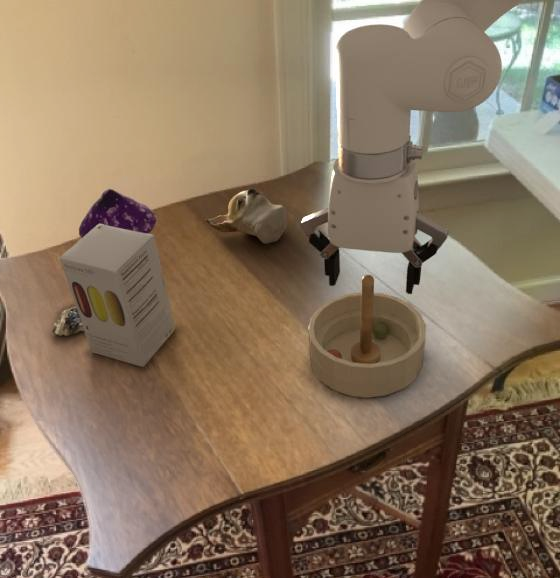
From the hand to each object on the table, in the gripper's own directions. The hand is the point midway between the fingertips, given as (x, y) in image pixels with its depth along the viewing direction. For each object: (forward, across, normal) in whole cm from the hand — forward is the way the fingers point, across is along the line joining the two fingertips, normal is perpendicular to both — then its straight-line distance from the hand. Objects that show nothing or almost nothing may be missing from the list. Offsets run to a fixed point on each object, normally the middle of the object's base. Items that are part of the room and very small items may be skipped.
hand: (372, 283), depth 83 cm
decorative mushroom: (+12, +44, -13) cm, 47 cm away
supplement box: (+13, +35, +4) cm, 37 cm away
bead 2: (+11, 0, -4) cm, 12 cm away
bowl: (+13, +1, 0) cm, 13 cm away
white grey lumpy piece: (+12, +46, +2) cm, 48 cm away
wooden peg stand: (+12, +1, 0) cm, 13 cm away
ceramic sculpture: (+13, +27, -28) cm, 41 cm away
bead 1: (+11, +5, +3) cm, 12 cm away
